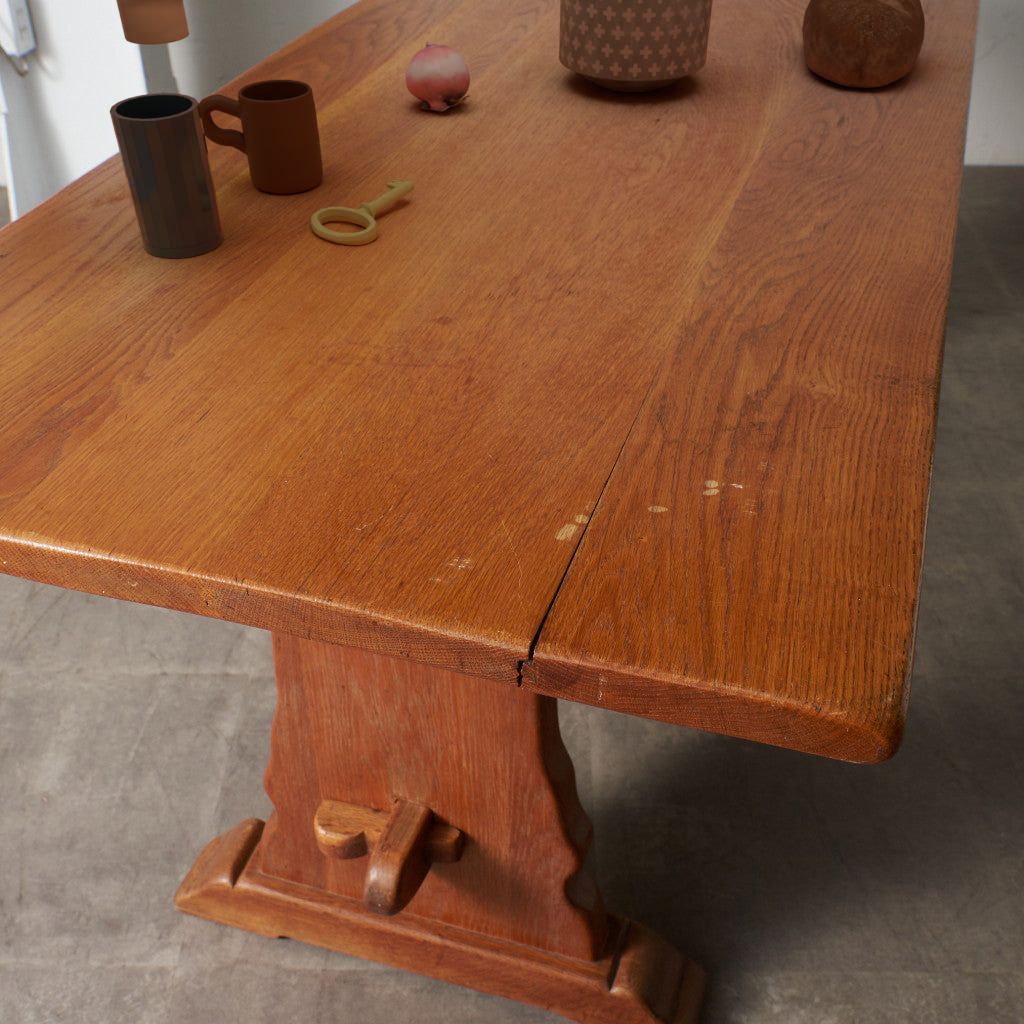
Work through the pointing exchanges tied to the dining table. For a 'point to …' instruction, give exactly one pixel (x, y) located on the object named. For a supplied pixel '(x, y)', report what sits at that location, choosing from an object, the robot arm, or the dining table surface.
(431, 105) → the onion
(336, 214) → the key
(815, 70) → the bread
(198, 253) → the cup
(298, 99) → the mug
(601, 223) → the dining table surface
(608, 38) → the planter
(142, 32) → the brush
